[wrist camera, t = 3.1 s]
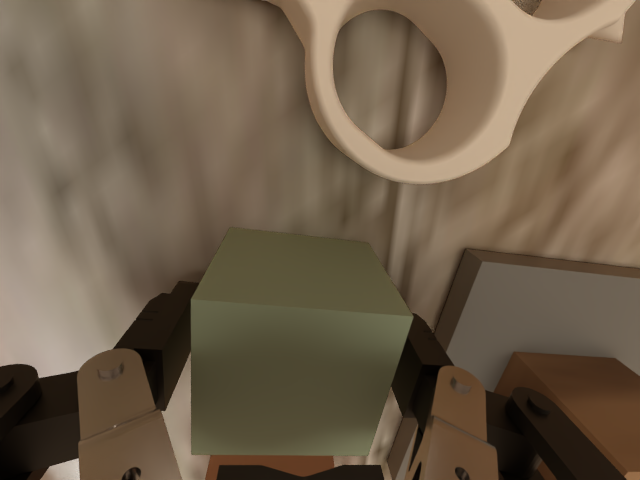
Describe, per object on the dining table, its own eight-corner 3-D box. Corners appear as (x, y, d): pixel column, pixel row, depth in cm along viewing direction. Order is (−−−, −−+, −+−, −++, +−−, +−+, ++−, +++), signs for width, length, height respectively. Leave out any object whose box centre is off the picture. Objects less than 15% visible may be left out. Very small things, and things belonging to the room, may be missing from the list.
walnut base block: (513, 351, 14) (628, 471, 9) (615, 358, 14) (768, 471, 10) (472, 433, 16) (548, 566, 11) (563, 435, 16) (670, 559, 12)
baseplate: (465, 248, 13) (482, 261, 12) (692, 275, 14) (726, 288, 13) (387, 461, 18) (393, 484, 17) (561, 462, 20) (577, 482, 18)
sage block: (230, 226, 12) (190, 299, 7) (367, 241, 12) (413, 316, 8) (224, 339, 14) (191, 454, 9) (343, 346, 14) (367, 456, 10)
